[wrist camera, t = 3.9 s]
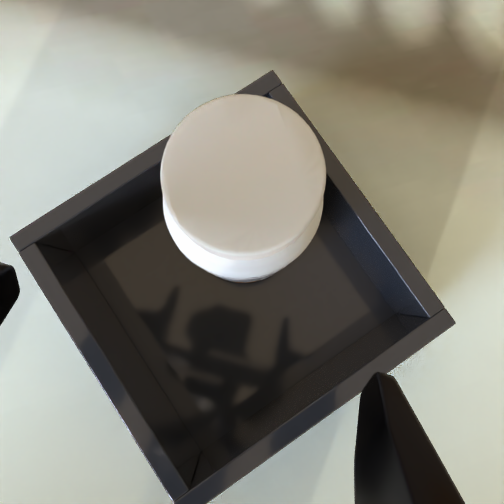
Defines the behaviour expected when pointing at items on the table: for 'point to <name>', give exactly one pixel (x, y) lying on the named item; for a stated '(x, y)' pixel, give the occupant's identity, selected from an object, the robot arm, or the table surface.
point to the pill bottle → (242, 186)
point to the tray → (226, 320)
